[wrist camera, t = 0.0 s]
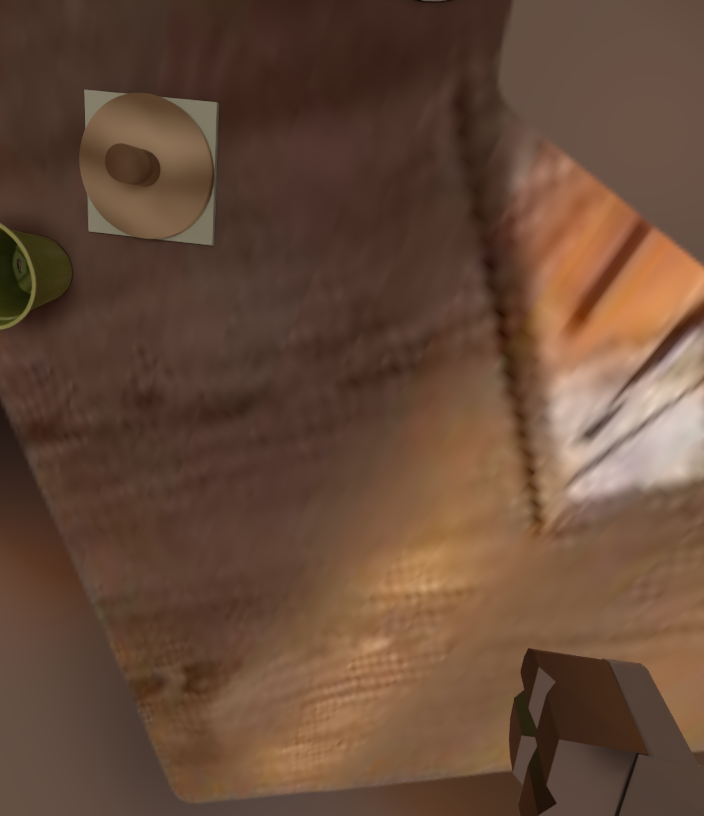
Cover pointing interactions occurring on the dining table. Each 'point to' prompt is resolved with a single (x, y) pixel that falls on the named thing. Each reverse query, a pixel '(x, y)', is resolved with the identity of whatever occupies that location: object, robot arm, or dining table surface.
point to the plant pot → (29, 274)
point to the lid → (146, 166)
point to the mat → (208, 122)
